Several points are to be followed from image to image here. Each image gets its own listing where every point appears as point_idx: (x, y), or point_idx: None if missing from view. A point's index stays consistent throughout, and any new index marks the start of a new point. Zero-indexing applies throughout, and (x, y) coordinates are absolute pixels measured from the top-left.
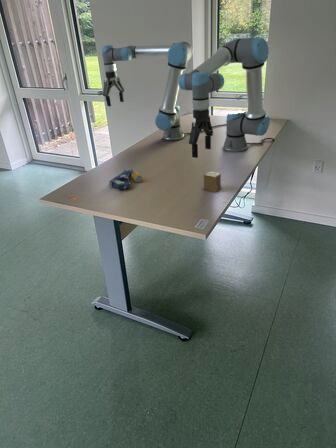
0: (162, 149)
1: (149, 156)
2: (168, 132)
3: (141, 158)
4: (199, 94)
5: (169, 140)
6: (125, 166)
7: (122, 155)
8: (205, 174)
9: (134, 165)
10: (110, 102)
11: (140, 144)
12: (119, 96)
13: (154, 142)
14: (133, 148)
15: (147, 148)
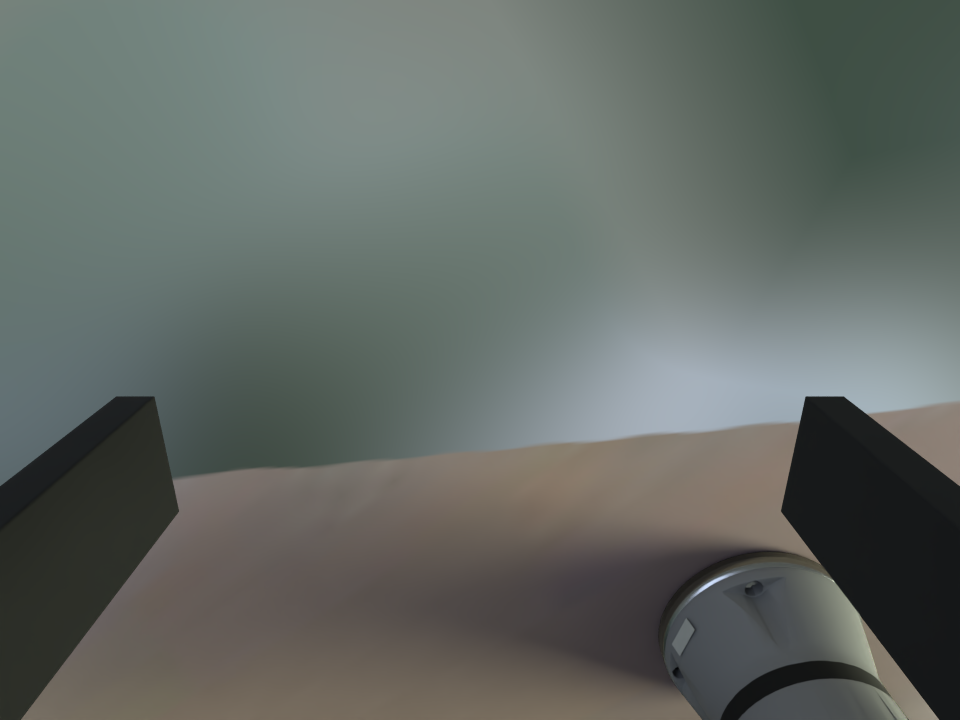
0: (449, 687)
1: (278, 684)
2: (696, 691)
3: (214, 660)
4: None
5: (659, 643)
6: None
7: (176, 499)
8: None
9: (85, 690)
10: (115, 593)
11: (489, 469)
12: (935, 508)
13: (585, 550)
14: (366, 477)
15: (420, 582)
